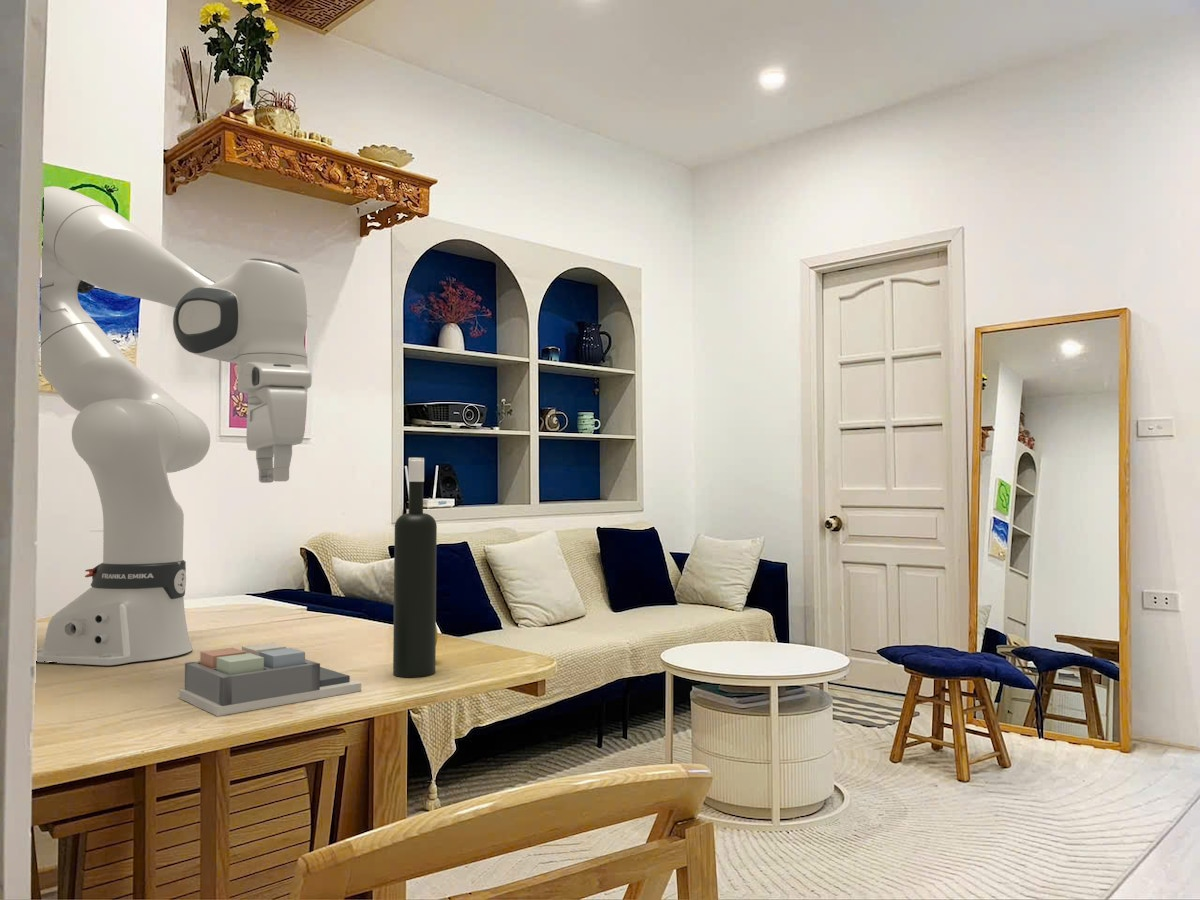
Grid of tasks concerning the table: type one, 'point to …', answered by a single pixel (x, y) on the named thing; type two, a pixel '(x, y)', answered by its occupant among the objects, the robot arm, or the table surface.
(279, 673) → the keypad
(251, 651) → the key ivory
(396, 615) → the wine bottle
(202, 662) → the key terracotta
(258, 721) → the table surface
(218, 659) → the key sage
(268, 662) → the key slate
